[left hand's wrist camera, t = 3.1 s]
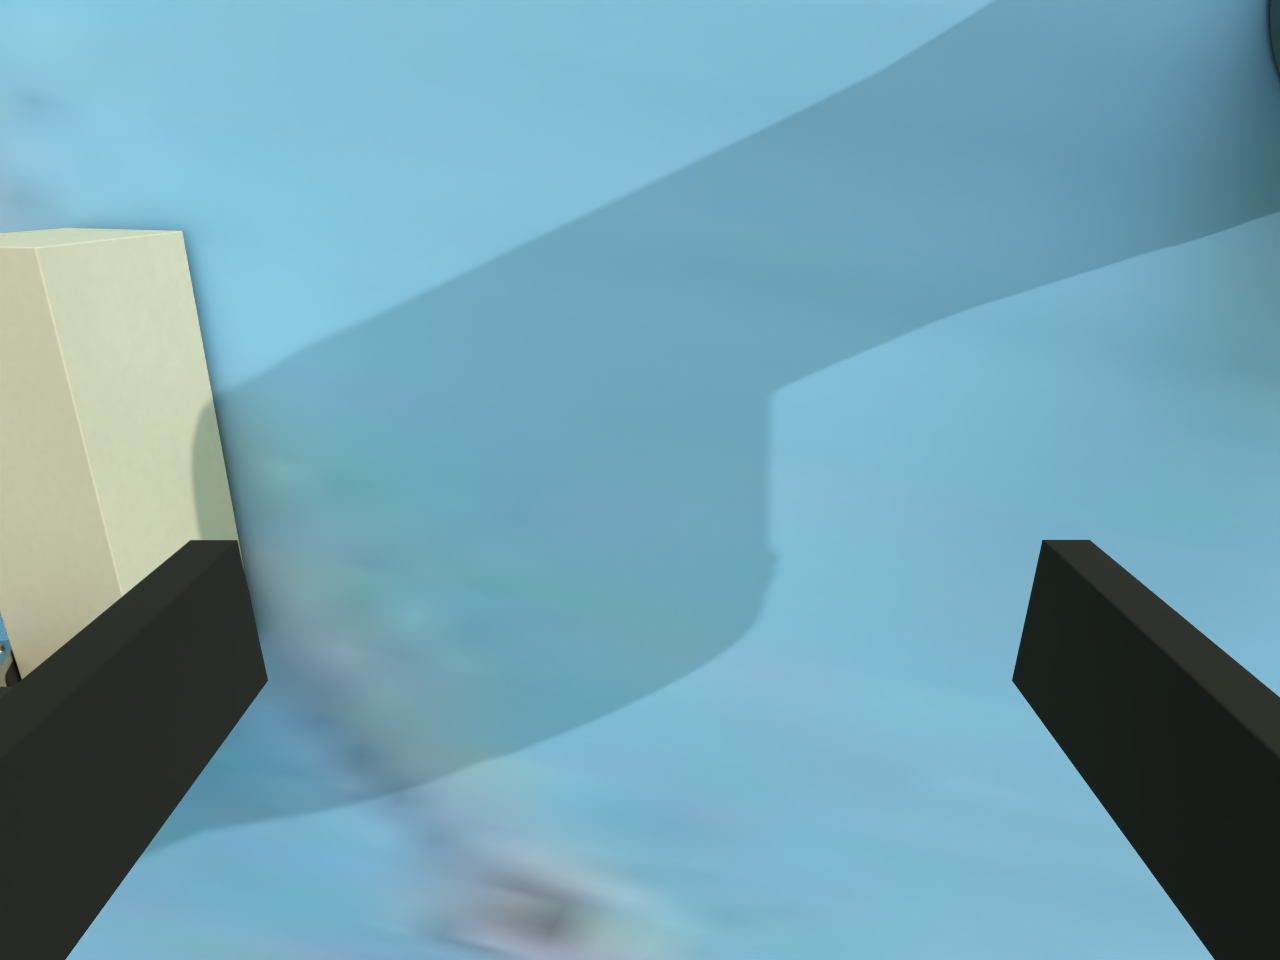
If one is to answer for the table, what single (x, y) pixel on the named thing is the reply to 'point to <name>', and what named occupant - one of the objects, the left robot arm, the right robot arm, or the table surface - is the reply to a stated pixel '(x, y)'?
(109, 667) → the left robot arm
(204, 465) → the bar
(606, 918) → the table surface
